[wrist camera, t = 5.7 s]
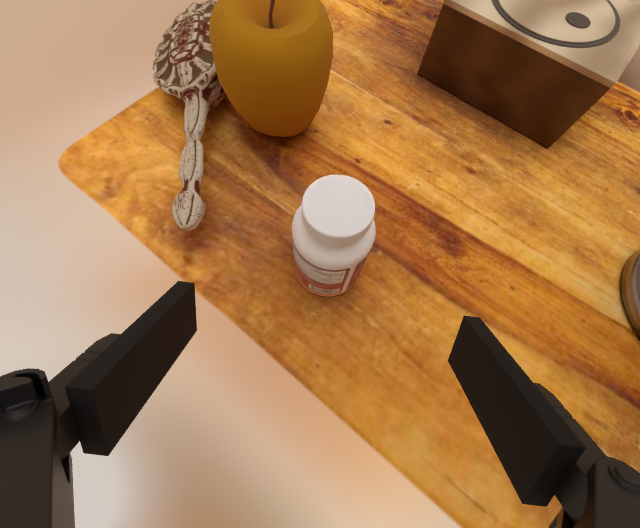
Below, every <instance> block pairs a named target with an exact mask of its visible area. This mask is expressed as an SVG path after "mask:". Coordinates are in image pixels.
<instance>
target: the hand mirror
mask: <svg viewBox="0 0 640 528" xmlns="http://www.w3.org/2000/svg"><path fill="white" fill-rule="evenodd" d="M215 2H217V1H214V0H208V1H206V2H204V3H192V4H191V5H190V6H189V7H188V8H187V9H186V10H185V12H184V13H181V14H179V15H178V16H177V17H176V18H175V19H174V22H173V24H172V25H171V26H170V27H169V28H168V29H167V30H166V31H165V33H164V35H163V38H162V40H161V42H160V44H159V45H158V46H157V49H156V52H155V56H156V58H155V60H154V62H153V70H154V74H153V78H154V82H155V83H156V84H157V85H158V86H159V87H161V88H162V90H163V91H164V92H165V93H167V94H170V95H174V96H176V97H177V98H178V99H179V101H180V102H181V103H182V104H183V105H184V106H185V111H184V132H185V133H186V135H187V142H186V145H185V147H184V148H183V151H182V155H181V161H180V170H179V176H180V180H181V181H182V183H183V189H182V190H181V192H179V193H178V194H177V195H176V197H175V199H174V202H173V206H172V215H173V218H174V220H175V222H176V223H177V225H178V226H179V227H180V228H182V229H183V230H186V231H189V230H193V229H195V228H196V227H197V226H198V224H199V223H200V221H201V220H202V218H203V215H204V213H205V207H206V206H205V204H204V201H203V199H202V198H201V196H200V187H201V184H202V178H203V172H204V166H203V145H202V143H201V141H200V139H201V137H202V135H203V133H204V130H205V125H206V117H207V114H208V111H209V110H210V109H211V108H214V107H216V106H217V105H219V103H220V102H221V101H222V99H223V97H224V95H225V91H224V90H223V88H222V86H221V84H220V82H219V79H218V76H217V72H216V68H215V64H214V59H213V54H212V49H211V43H210V37H209V25H210V16H211V13H212V10H213V7H214V4H215Z"/></svg>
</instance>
